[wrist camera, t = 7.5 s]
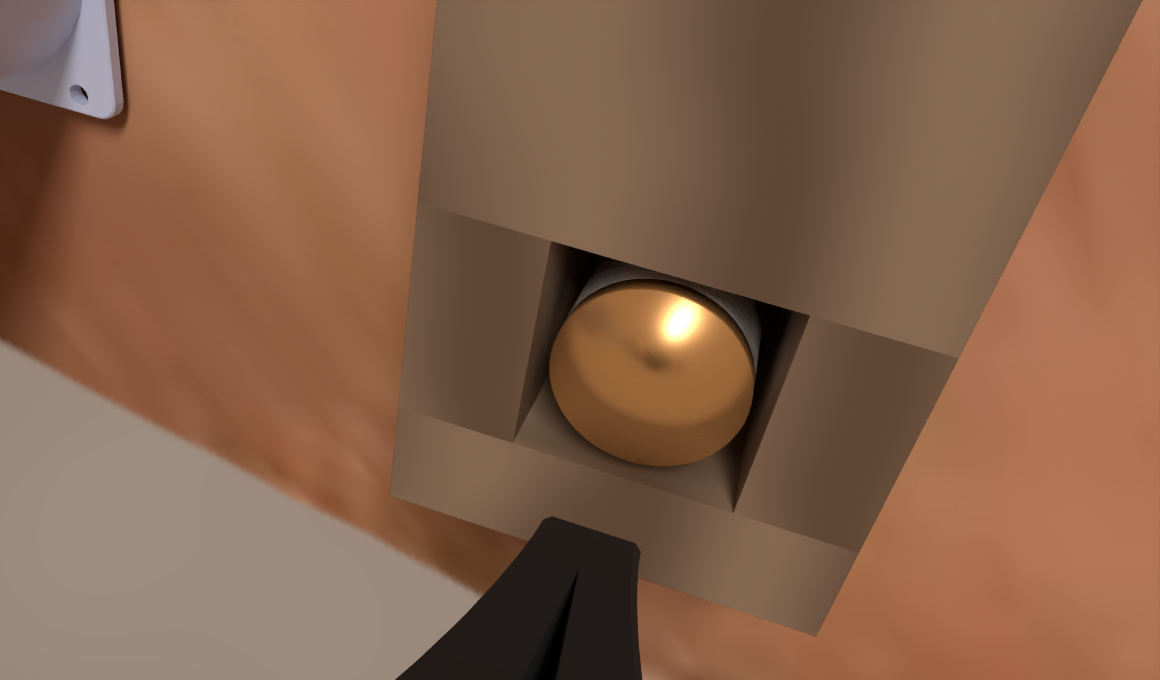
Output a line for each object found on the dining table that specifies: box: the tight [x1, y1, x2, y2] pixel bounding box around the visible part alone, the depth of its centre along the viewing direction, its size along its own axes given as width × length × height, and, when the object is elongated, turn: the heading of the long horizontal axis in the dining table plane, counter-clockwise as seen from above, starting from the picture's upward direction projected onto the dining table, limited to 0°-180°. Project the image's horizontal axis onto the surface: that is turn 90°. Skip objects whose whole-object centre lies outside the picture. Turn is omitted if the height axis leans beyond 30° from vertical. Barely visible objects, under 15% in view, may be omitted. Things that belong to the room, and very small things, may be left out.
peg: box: [549, 256, 766, 466], centre depth 19 cm, size 4×4×4 cm
